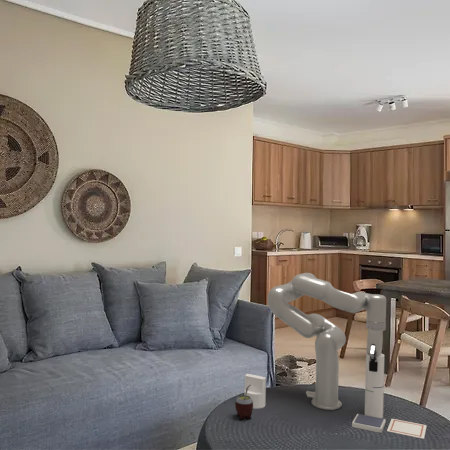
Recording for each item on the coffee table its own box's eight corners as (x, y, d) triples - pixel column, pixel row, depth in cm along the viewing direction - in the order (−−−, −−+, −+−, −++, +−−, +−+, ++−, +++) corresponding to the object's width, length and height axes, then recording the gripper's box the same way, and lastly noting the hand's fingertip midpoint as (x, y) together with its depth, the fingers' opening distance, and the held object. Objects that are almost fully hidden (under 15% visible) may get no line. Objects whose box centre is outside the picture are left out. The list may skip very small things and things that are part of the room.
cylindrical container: (383, 419, 194) (385, 357, 194) (365, 418, 196) (366, 356, 195) (381, 413, 201) (383, 352, 201) (363, 411, 202) (365, 351, 202)
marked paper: (386, 431, 184) (386, 430, 184) (391, 419, 195) (391, 418, 195) (423, 438, 178) (424, 438, 178) (426, 425, 189) (426, 425, 189)
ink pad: (351, 426, 187) (352, 422, 187) (357, 417, 196) (357, 412, 196) (381, 433, 182) (381, 428, 182) (385, 423, 191) (385, 418, 191)
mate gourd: (240, 412, 198) (240, 376, 198) (257, 416, 195) (258, 379, 195) (231, 419, 192) (232, 381, 192) (249, 423, 188) (250, 384, 188)
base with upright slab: (269, 403, 209) (269, 375, 209) (259, 410, 201) (259, 381, 201) (250, 399, 214) (251, 371, 214) (240, 405, 206) (241, 377, 206)
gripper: (370, 320, 207) (369, 361, 208) (362, 328, 192) (361, 373, 192) (388, 322, 204) (387, 364, 204) (382, 330, 188) (381, 376, 189)
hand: (374, 368), depth 198 cm, fingers closed on cylindrical container, 7 cm apart
